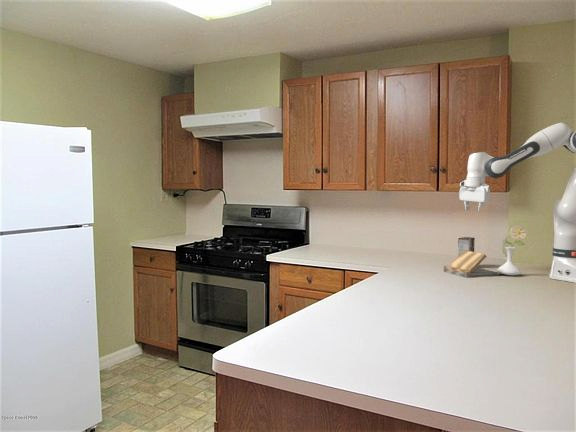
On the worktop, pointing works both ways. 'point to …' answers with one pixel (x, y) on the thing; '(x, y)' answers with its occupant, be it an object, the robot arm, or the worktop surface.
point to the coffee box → (465, 244)
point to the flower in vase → (509, 266)
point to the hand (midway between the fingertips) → (473, 210)
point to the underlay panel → (475, 273)
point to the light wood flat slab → (468, 260)
